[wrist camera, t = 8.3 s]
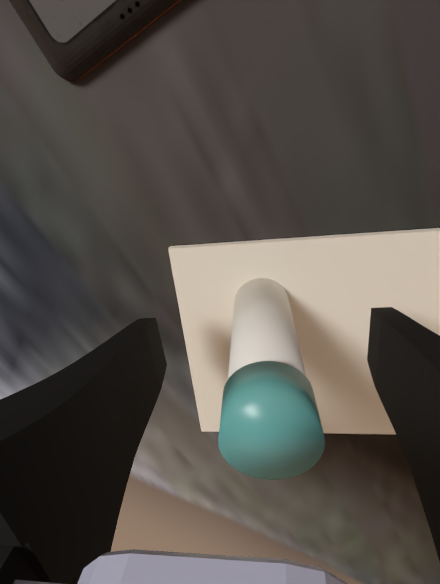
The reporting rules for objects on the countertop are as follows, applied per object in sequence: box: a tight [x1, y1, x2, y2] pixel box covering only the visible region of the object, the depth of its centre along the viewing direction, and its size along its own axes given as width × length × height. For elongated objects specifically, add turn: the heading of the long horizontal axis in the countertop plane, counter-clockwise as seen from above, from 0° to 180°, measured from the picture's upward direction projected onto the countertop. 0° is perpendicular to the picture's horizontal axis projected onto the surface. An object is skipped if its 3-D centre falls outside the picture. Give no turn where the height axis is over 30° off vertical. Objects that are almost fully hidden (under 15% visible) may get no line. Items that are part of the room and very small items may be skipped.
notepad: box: [168, 228, 440, 434], centre depth 15 cm, size 14×10×1 cm
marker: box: [218, 278, 325, 480], centre depth 11 cm, size 2×2×7 cm
